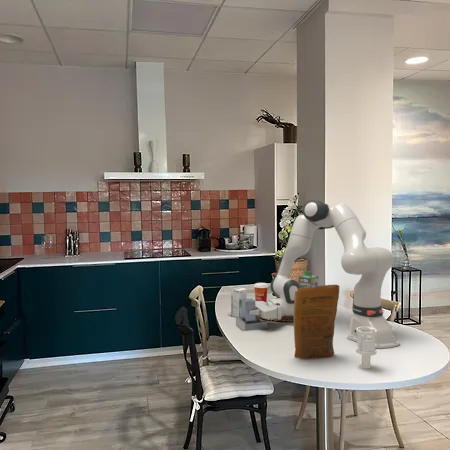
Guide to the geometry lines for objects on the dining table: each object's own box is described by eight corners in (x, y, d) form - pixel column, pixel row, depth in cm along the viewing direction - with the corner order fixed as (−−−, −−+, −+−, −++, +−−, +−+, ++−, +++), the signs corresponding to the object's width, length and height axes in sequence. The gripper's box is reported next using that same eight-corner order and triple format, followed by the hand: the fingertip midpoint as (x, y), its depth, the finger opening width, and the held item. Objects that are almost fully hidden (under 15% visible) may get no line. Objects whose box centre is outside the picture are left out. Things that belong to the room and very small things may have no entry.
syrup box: (238, 314, 230) (238, 286, 229) (247, 316, 226) (246, 288, 225) (231, 316, 226) (230, 288, 225) (239, 318, 222) (239, 290, 221)
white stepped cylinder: (365, 372, 154) (366, 330, 153) (351, 365, 160) (352, 325, 159) (380, 368, 157) (381, 327, 156) (366, 362, 163) (366, 322, 162)
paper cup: (251, 309, 240) (251, 284, 239) (259, 306, 245) (259, 282, 244) (262, 311, 234) (262, 286, 233) (271, 309, 240) (271, 283, 239)
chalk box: (318, 294, 276) (318, 270, 275) (311, 296, 269) (311, 272, 268) (305, 292, 282) (306, 269, 281) (298, 294, 275) (298, 271, 274)
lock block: (256, 325, 206) (256, 300, 205) (245, 327, 204) (245, 301, 204) (252, 323, 211) (252, 298, 210) (241, 324, 209) (241, 299, 208)
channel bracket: (259, 322, 215) (259, 314, 214) (267, 328, 205) (267, 320, 205) (236, 324, 211) (236, 316, 211) (243, 331, 202) (243, 322, 201)
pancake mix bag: (342, 357, 168) (343, 285, 166) (295, 361, 164) (295, 287, 162) (335, 351, 174) (335, 282, 172) (289, 355, 171) (289, 284, 169)
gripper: (265, 296, 221) (239, 299, 216) (282, 306, 201) (254, 309, 197) (265, 309, 221) (239, 311, 217) (282, 320, 202) (254, 323, 197)
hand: (246, 310), depth 207 cm, fingers closed on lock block, 5 cm apart
